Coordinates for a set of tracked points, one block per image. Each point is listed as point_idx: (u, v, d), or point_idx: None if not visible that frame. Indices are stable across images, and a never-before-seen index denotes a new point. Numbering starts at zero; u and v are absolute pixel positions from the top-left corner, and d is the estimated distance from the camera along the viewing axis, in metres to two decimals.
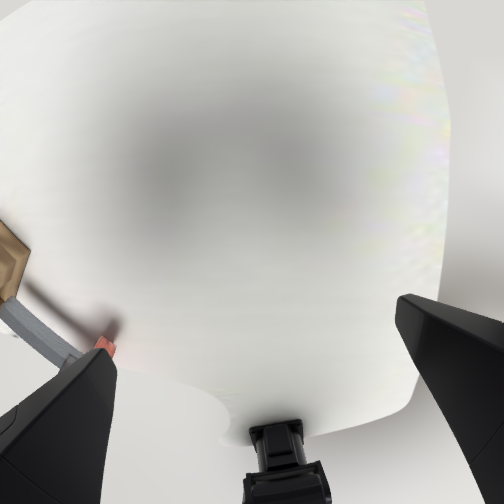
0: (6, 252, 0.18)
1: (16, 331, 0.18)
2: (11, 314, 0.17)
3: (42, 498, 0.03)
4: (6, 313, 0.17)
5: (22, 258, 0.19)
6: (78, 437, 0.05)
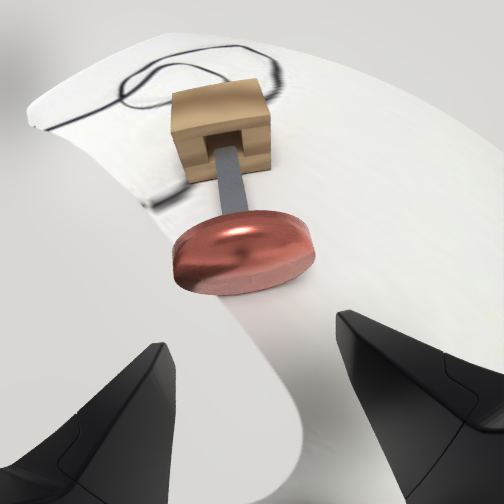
0: None
1: (219, 169, 0.21)
2: (235, 156, 0.22)
3: None
4: (230, 153, 0.22)
5: (268, 160, 0.26)
6: (148, 443, 0.05)
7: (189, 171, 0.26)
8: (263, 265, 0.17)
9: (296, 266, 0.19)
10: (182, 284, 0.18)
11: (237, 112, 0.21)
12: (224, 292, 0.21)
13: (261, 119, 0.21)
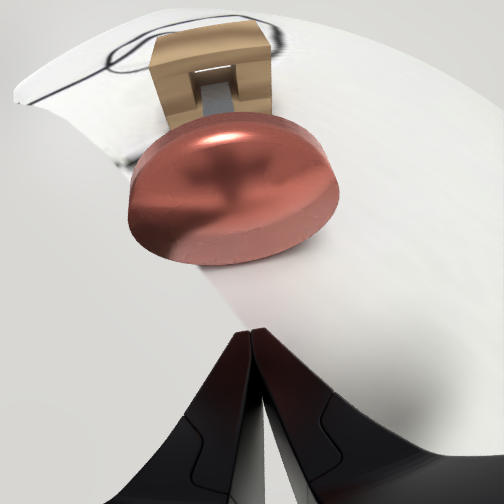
0: None
1: (206, 104, 0.15)
2: (227, 91, 0.16)
3: None
4: (221, 88, 0.16)
5: (268, 108, 0.20)
6: (256, 437, 0.05)
7: (172, 120, 0.20)
8: (262, 208, 0.11)
9: (311, 216, 0.13)
10: (144, 241, 0.12)
11: (230, 45, 0.15)
12: (208, 261, 0.15)
13: (259, 52, 0.15)
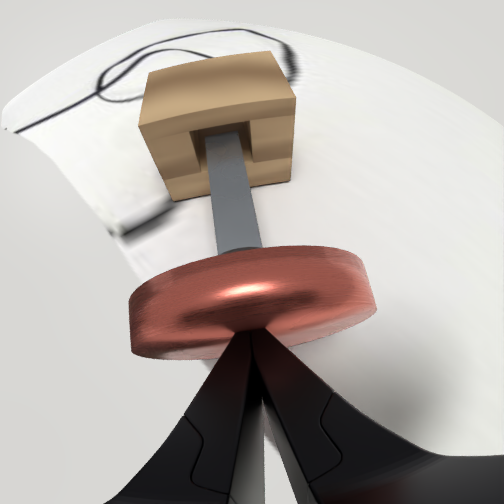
0: None
1: (212, 165, 0.14)
2: (238, 146, 0.14)
3: None
4: (229, 141, 0.14)
5: (287, 168, 0.18)
6: (256, 436, 0.05)
7: (172, 184, 0.17)
8: (287, 334, 0.10)
9: (339, 327, 0.11)
10: (151, 357, 0.10)
11: (243, 93, 0.13)
12: None
13: (281, 105, 0.13)
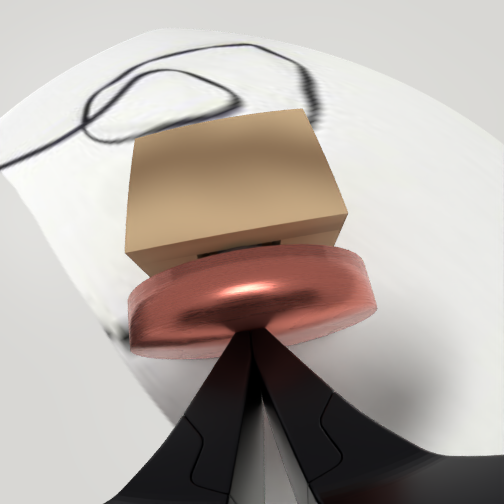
0: None
1: None
2: None
3: None
4: None
5: None
6: (256, 437, 0.05)
7: None
8: (287, 333, 0.09)
9: (339, 326, 0.11)
10: (151, 356, 0.10)
11: (273, 202, 0.10)
12: None
13: (326, 222, 0.10)
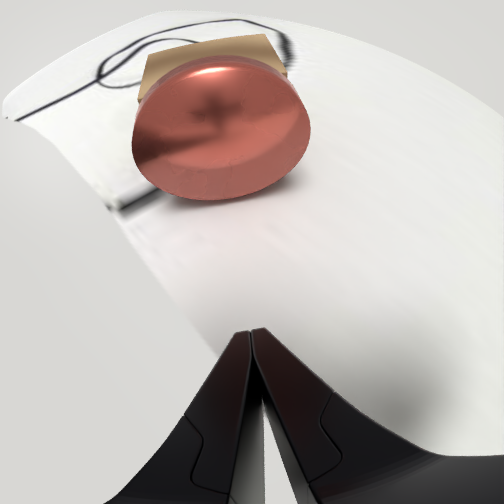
0: None
1: None
2: None
3: None
4: None
5: None
6: (256, 437, 0.05)
7: None
8: (244, 134, 0.13)
9: (288, 147, 0.14)
10: (144, 167, 0.13)
11: None
12: (200, 194, 0.16)
13: None
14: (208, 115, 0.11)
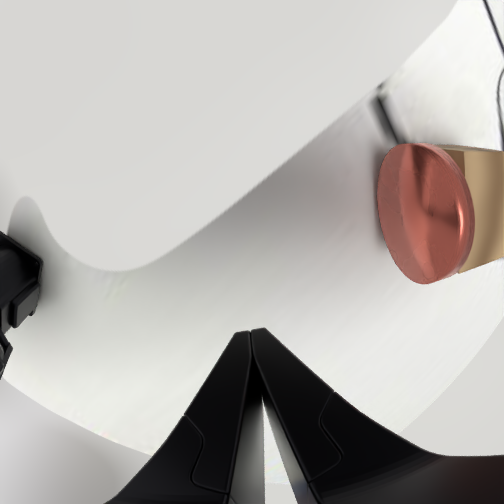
0: None
1: None
2: None
3: None
4: None
5: None
6: (256, 437, 0.05)
7: None
8: (416, 234, 0.16)
9: (404, 259, 0.18)
10: (405, 148, 0.15)
11: None
12: (382, 178, 0.18)
13: None
14: (431, 218, 0.14)
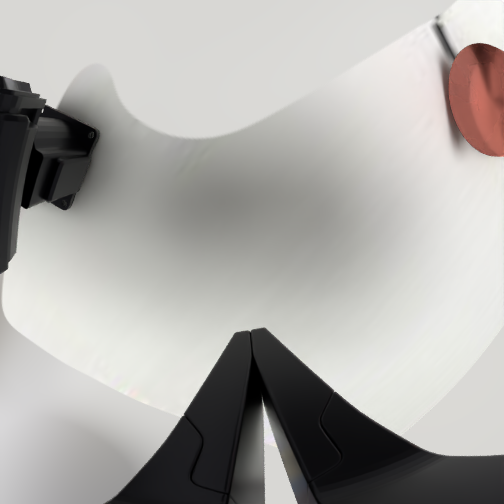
0: None
1: None
2: None
3: None
4: None
5: None
6: (256, 437, 0.05)
7: None
8: (493, 112, 0.13)
9: (484, 140, 0.15)
10: (472, 47, 0.12)
11: None
12: (452, 79, 0.16)
13: None
14: None
